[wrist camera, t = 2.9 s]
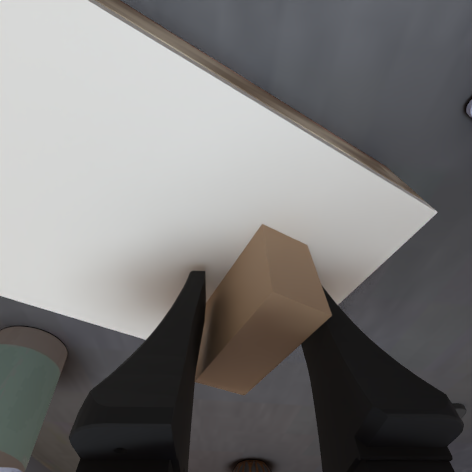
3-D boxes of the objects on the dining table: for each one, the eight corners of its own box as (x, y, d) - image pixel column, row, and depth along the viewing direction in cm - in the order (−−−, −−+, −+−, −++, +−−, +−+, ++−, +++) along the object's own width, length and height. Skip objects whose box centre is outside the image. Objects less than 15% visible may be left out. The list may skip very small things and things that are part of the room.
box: (385, 166, 17) (423, 200, 13) (256, 313, 24) (261, 359, 20) (47, -46, 11) (-27, -76, 8) (10, 222, 18) (-38, 264, 15)
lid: (427, 203, 13) (511, 278, 9) (261, 363, 20) (268, 445, 16) (-35, -79, 8) (-297, -186, 4) (-42, 268, 15) (-141, 353, 11)
